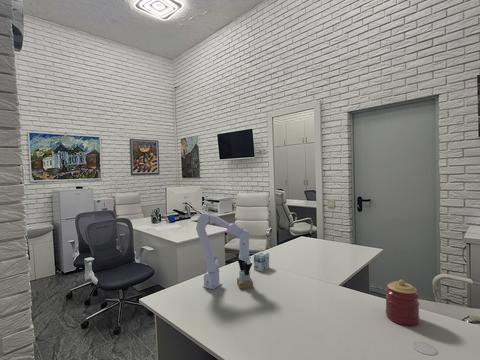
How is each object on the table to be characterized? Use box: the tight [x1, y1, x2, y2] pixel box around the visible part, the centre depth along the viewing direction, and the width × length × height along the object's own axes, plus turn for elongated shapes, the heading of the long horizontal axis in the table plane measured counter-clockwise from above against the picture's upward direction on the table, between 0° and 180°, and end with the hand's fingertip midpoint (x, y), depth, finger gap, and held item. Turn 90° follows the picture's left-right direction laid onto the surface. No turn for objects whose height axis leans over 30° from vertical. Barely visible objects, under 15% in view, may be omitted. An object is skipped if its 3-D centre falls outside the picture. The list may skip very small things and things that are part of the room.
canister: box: [385, 279, 420, 327], centre depth 119 cm, size 13×13×18 cm
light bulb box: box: [253, 250, 270, 272], centre depth 187 cm, size 11×7×11 cm, turn 143°
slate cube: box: [238, 270, 251, 282], centre depth 157 cm, size 5×5×5 cm
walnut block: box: [236, 277, 254, 290], centre depth 158 cm, size 8×8×4 cm
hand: (244, 272), depth 158 cm, fingers open, 7 cm apart
